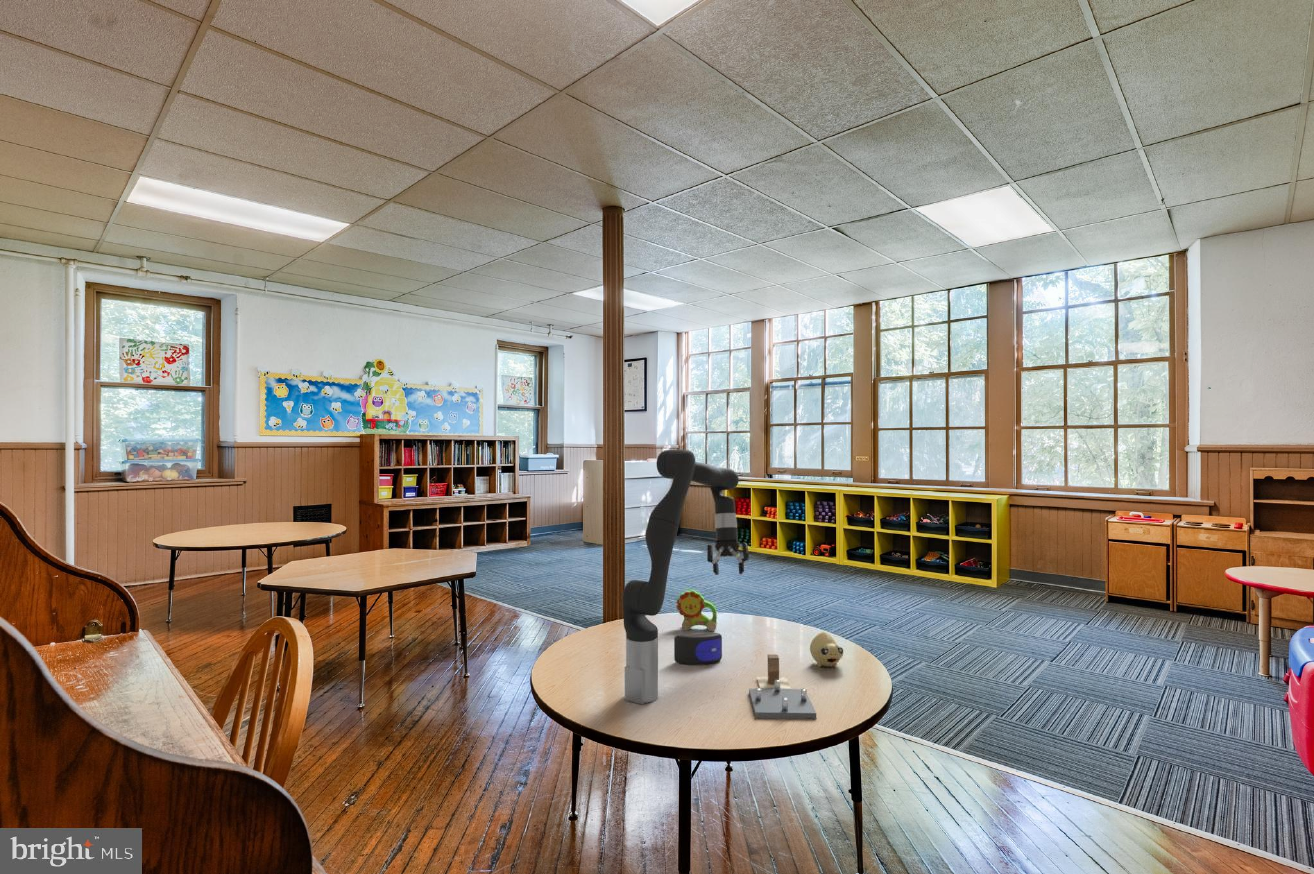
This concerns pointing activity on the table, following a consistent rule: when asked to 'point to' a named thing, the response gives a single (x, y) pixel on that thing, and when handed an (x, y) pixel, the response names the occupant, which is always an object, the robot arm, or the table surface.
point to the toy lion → (695, 610)
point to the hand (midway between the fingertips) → (728, 574)
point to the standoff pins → (784, 700)
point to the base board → (773, 704)
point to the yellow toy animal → (825, 650)
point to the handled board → (766, 686)
